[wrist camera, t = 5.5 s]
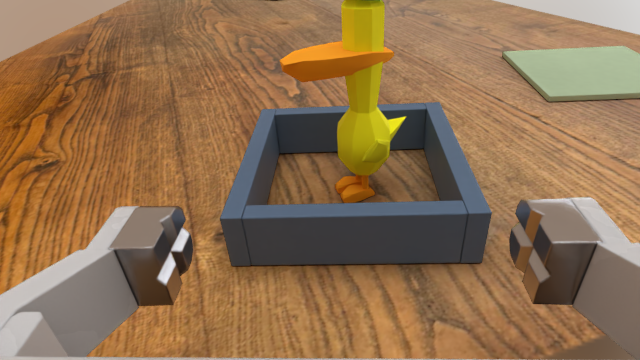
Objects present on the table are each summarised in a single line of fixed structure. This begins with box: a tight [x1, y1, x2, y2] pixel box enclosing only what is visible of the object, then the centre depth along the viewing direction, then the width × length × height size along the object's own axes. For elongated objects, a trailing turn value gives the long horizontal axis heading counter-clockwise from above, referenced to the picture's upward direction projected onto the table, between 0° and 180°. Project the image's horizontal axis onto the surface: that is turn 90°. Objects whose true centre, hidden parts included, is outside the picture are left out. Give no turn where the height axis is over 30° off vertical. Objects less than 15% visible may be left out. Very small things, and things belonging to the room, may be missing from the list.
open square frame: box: [220, 102, 492, 266], centre depth 24 cm, size 12×12×3 cm
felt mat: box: [502, 46, 640, 102], centre depth 39 cm, size 12×12×1 cm
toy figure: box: [280, 0, 407, 203], centre depth 22 cm, size 7×4×12 cm, turn 108°
